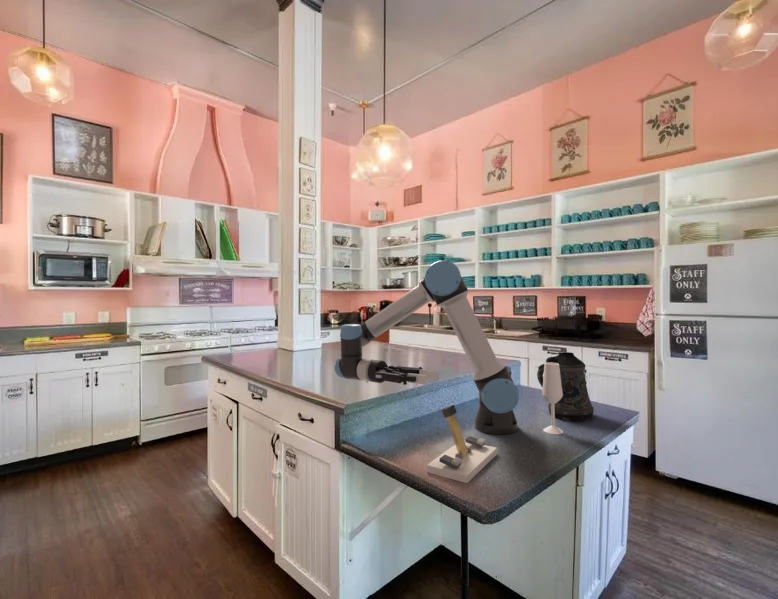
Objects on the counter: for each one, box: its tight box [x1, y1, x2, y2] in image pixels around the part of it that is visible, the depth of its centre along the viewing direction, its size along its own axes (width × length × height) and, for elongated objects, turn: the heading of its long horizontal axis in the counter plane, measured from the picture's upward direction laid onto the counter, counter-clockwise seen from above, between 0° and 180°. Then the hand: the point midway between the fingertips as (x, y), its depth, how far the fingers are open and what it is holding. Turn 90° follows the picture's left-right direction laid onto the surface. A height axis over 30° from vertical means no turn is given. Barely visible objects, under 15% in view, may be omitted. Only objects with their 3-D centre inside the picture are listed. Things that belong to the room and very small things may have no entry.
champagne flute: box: [541, 362, 564, 435], centre depth 137 cm, size 7×7×24 cm
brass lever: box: [441, 404, 468, 457], centre depth 114 cm, size 4×2×14 cm, turn 144°
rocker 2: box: [464, 435, 486, 448], centre depth 120 cm, size 3×5×2 cm, turn 54°
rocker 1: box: [439, 455, 462, 469], centre depth 106 cm, size 3×5×2 cm, turn 54°
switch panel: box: [426, 442, 498, 484], centre depth 113 cm, size 22×12×4 cm, turn 144°
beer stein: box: [536, 351, 595, 423], centre depth 154 cm, size 16×19×25 cm
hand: (432, 377), depth 119 cm, fingers open, 6 cm apart
